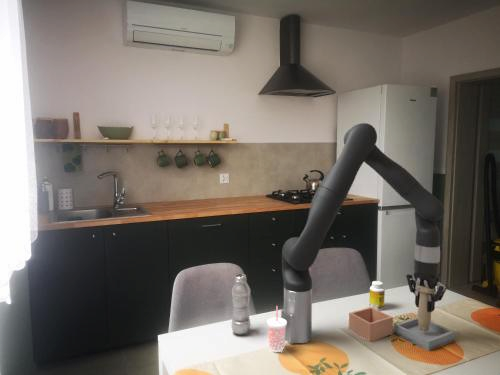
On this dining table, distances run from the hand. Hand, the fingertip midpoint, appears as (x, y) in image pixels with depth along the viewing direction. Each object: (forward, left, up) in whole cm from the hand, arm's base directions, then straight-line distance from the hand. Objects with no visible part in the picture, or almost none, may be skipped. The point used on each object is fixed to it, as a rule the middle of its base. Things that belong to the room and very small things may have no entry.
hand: (424, 308), depth 122 cm
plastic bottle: (-52, +32, -10) cm, 62 cm away
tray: (0, 0, -10) cm, 10 cm away
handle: (0, 0, -7) cm, 7 cm away
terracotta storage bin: (-13, +11, -10) cm, 19 cm away
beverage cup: (-47, +17, -10) cm, 51 cm away
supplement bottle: (+4, +24, -10) cm, 26 cm away
